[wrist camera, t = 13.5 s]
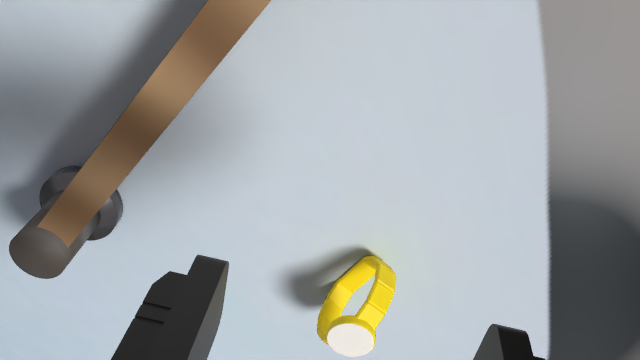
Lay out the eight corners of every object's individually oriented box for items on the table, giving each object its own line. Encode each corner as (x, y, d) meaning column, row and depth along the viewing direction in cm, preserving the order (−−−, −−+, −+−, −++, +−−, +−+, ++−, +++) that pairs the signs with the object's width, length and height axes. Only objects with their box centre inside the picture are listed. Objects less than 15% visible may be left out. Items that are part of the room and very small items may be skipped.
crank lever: (85, 240, 38) (36, 304, 33) (42, 210, 37) (-15, 271, 32) (331, -53, 27) (314, -26, 22) (277, -104, 26) (247, -89, 21)
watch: (347, 305, 40) (335, 376, 35) (315, 283, 40) (298, 353, 35) (406, 259, 37) (402, 331, 32) (373, 235, 36) (363, 304, 32)
